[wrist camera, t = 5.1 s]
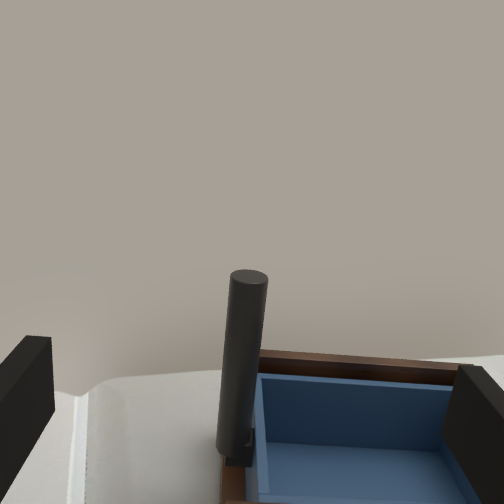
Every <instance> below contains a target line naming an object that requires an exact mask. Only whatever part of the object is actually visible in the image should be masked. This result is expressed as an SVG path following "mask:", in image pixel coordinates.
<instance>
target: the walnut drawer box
mask: <svg viewBox="0 0 504 504" xmlns="http://www.w3.org/2000/svg"><path fill="white" fill-rule="evenodd" d="M459 365H471V366H474V365H473V364H461V363H447V362H433V361H419V360H404V359H390V358H375V357H361V356H348V355H333V354H319V353H305V352H291V351H277V350H263V349H260V356H259V365H258V373H265V374H280V375H295V376H310V377H324V378H339V379H354V380H368V381H383V382H398V383H413V384H427V385H442V386H453V385H454V381H455V377H456V373H457V370H458V366H459ZM224 464H225V456H223V455H222V470H221V490H220V504H287V503H268V502H249V501H246V474H245V467H231V466H225V465H224Z"/></svg>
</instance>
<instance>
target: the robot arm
mask: <svg viewBox="0 0 504 504" xmlns="http://www.w3.org/2000/svg"><path fill="white" fill-rule="evenodd" d="M54 412H55V400H54V381H53V362H52V342H51V337H42V336H28V335H27V336H25V337H24V338H23V340H22V341H21V342H20V343H19V344H18V345H17V346H16V347H15V349H14V350H13V351H12V352H11V353H10V354H9V355H8V356H7V357H6V358H5V360H4V361H3V362H2V363H1V364H0V503H1V501H2V500H3V498H4V496H5V495H6V493H7V491H8V490H9V488H10V486H11V484H12V483H13V481H14V479H15V478H16V476H17V474H18V473H19V471H20V469H21V468H22V466H23V464H24V462H25V461H26V459H27V457H28V456H29V454H30V452H31V451H32V449H33V447H34V446H35V444H36V442H37V440H38V439H39V437H40V435H41V434H42V432H43V430H44V429H45V427H46V425H47V424H48V422H49V420H50V418H51V417H52V415H53V413H54ZM440 434H441V436H442V437H443V439H444V441H445V442H446V444H447V446H448V447H449V449H450V451H451V452H452V454H453V456H454V457H455V459H456V461H457V462H458V464H459V466H460V467H461V469H462V471H463V472H464V474H465V476H466V478H467V479H468V481H469V483H470V484H471V486H472V488H473V489H474V491H475V493H476V494H477V496H478V498H479V499H480V501H481V503H482V504H504V391H503V390H502V388H501V387H500V386H499V385H498V384H497V383H496V382H495V381H494V380H493V378H492V377H491V376H490V375H489V374H488V373H487V372H486V371H485V370H484V368H483V367H482V366H471V365H459V366H458V370H457V373H456V377H455V381H454V385H453V388H452V392H451V396H450V400H449V403H448V407H447V411H446V415H445V418H444V422H443V426H442V430H441V433H440Z"/></svg>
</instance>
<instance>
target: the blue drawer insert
mask: <svg viewBox="0 0 504 504" xmlns="http://www.w3.org/2000/svg"><path fill="white" fill-rule="evenodd" d="M267 286H268V277H267V276H266V275H265V274H264V273H262V272H259V271H255V270H237V271H234V272H232V273H231V275H230V284H229V296H228V308H227V320H226V331H225V344H224V355H223V367H222V378H221V390H220V401H219V413H218V425H217V437H216V448H217V450H218V452H219V453H220V454H222V455H223V456H225V464H224V465H225V466H231V467H245V474H246V501H249V502H268V503H287V504H482V503H481V501H480V499H479V498H478V496H477V494H476V493H475V491H474V489H473V488H472V486H471V484H470V483H469V481H468V479H467V478H466V476H465V474H464V472H463V471H462V469H461V467H460V466H459V464H458V462H457V461H456V459H455V457H454V456H453V454H452V452H451V451H450V449H449V447H448V446H447V444H446V442H445V441H444V439H443V437H442V436H441V434H440V433H441V430H442V426H443V422H444V418H445V415H446V411H447V407H448V403H449V400H450V396H451V392H452V388H453V386H442V385H427V384H413V383H398V382H383V381H368V380H354V379H339V378H324V377H310V376H295V375H280V374H265V373H258V365H259V356H260V347H261V339H262V329H263V320H264V312H265V302H266V295H267Z"/></svg>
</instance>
